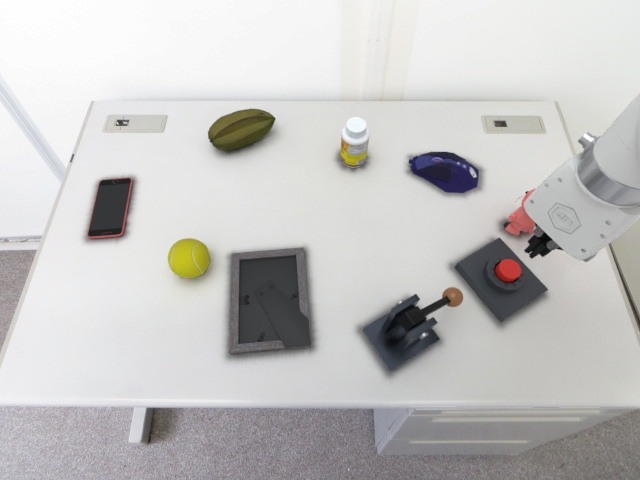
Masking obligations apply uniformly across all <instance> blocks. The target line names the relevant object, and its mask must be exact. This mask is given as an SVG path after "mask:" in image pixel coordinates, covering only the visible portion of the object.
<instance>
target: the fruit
mask: <svg viewBox="0 0 640 480" xmlns="http://www.w3.org/2000/svg"><path fill="white" fill-rule="evenodd" d="M275 122H276V117H275V116H274V115H273V114H272V113H271V112H268V111H266V110H264V109H260V108H247V109H240V110H239V109H238V110H236V111H233V112H231V113H227V114H225V115H222V116H220V117H219V118H217V119H216V120H215V121H214V122H213V123H212V124H211V126H209V129H208V130H207V139H208V140H209V142H210V144H212V147H214V148H215V149H216V150H219V151H233V150H238V149H242V148H243V147H247V146H250V145H252V144H254V143H256V142H258V141H259V140H261V139H262V138H264V137H265V136H266V135H267V134H268V133H269V132H270V131H271V129H272V128H273V126H274V124H275Z"/></svg>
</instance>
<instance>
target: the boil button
mask: <svg viewBox="0 0 640 480" xmlns="http://www.w3.org/2000/svg"><path fill="white" fill-rule="evenodd" d="M495 273H496V275H497V277H498V278H499V279H500V280H502V281H504V282H512V281H514V280H515V279H516V278H518V277H519V276H520V274H521V268H520V266H519V264H518V263H517V262H515V261H514V260H511V259H505V260H502V261H501V262H500V263H499V264H498V265H497V266H496V269H495Z"/></svg>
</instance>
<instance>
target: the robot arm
mask: <svg viewBox="0 0 640 480" xmlns="http://www.w3.org/2000/svg"><path fill="white" fill-rule="evenodd" d="M577 143H579V144H580V146H581V148H582V149H583V151H581V152H579V153H577V154H574V155H573V156H571V157H569V158H568V159H567V160H566V161H564V162H563V163H562V164H561V165H559V166H558V167H557V168H556V169H554V171H553V172H551V173H550V174H549V175H548V176H547V177H546V178H545V179H544V180H543V181H542V182H541V183H540V184H539V185H538V186H537V187H536V188H534V189H535V190H534V191H533V192H532V194H531V195H530V196H529V197H528V198H527V199H526V201H525V202H524V209H525V211H526V213H527V214H528V215H529V217H530V218H531V219H532V220H533V221H534V222H535V226H534V227H535V228H534V229H533V230H534V234H533V235H532V236H531V237H530V238H529V239H528V240H526V242H527V243H528V246H526V247H525V248H524V249H523V252H524V253H525V254H528V257H529V258H530V259H531V260H533V259H534V258H535V257H538V255H540V257H541V258H544V257H545V256H547V255H548V254H550V253H551V252H552V251H556V250H560V251H563V252H565V253H566V254H567V255H569V256H570V257H571V258H573V259H575V260H578V261H583V262H585V263H588V262H590V261H591V260H592V259H594V258H595V257H596V256H597V254H598V253H599V252H600V251H601V250H603V249H605V248H606V247H607V246H608V245H610V244H611V243H612V242H614V241H616V239H618V238H620V236H621V235H622V234H624V233H625V232H626V231H627V230H628V229H630V228H631V227H632V226H633V225H634V224H635V223H636V222H637V221H638V220H639V219H640V92H639V93H637V95H636V96H635V97H634V98H633V99H632V100H631V102H630V103H629V104H628V105H627V106H626V107H625V108H624V109H623V111H622V112H621V113H620V114H619V115H618V116H617V117H616V118H615V119H614V121H613V122H612V123H611V124H610V125H609V126H608V127H607V128H606V130H605V131H604V132H602V134H601V135H599V136H596V135H593V134H591V133H590V132H588V131H587V132H586V133H584V134H583V135H582V136H581V137H580V138H579V139H578V140H577Z"/></svg>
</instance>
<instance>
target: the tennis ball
mask: <svg viewBox="0 0 640 480" xmlns="http://www.w3.org/2000/svg"><path fill="white" fill-rule="evenodd" d="M209 251H210V250H209V249H208V247H207V244H205V243H204V242H202V241H201V240H199V239H196V238H192V237H191V238H190V237H189V238H182V239H179V240H177V241H176V242H174V243H173V244H172V245H171V246H170V249H169V251H168V255H167V264H168V267H169V269H170V271H171V272H172V273H173V274H175V275H176V276H178V277H180V278H185V279H193V278H197V277H200V276H201V275H203V274H204V273H205V272H206V270H207V269H208V267H209V264H210V259H211V256H210V252H209Z"/></svg>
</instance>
